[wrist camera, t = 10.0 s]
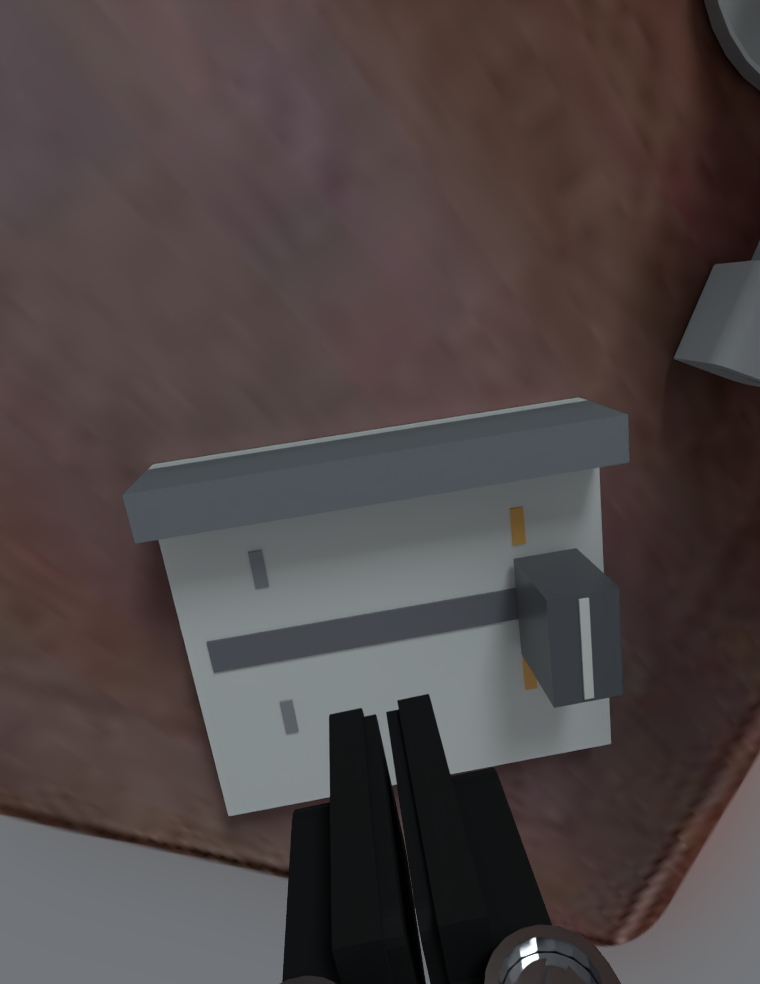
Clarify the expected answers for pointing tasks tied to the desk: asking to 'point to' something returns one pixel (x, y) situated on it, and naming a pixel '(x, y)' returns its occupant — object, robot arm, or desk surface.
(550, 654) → the fader knob
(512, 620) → the console
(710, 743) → the desk surface
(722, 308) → the usb wall charger
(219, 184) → the desk surface
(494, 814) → the robot arm
